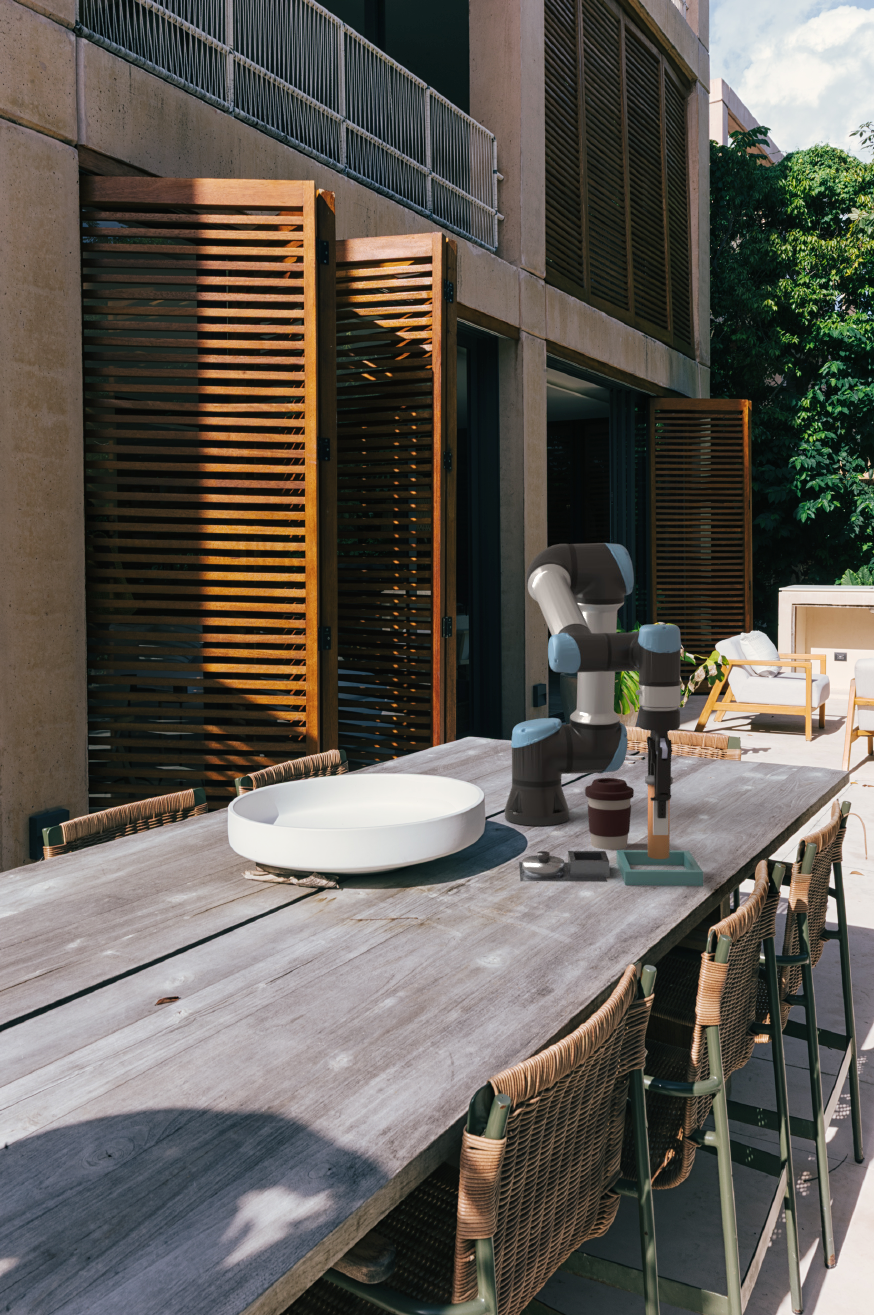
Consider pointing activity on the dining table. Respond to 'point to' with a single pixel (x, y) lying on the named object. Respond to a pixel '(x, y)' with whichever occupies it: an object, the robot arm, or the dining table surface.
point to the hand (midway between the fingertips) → (658, 831)
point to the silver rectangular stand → (566, 867)
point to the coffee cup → (609, 812)
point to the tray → (659, 877)
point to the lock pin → (656, 843)
